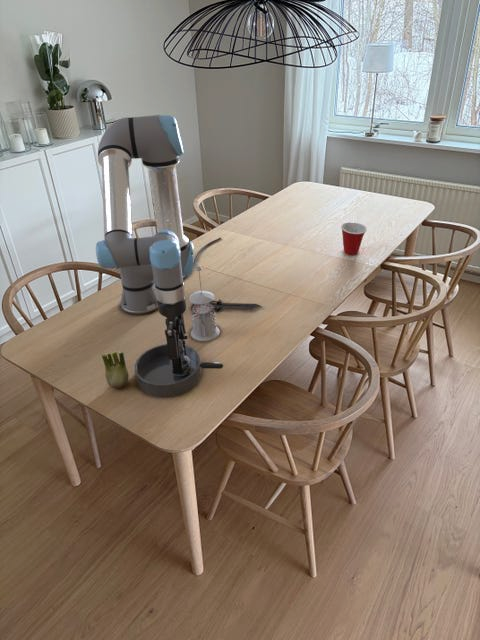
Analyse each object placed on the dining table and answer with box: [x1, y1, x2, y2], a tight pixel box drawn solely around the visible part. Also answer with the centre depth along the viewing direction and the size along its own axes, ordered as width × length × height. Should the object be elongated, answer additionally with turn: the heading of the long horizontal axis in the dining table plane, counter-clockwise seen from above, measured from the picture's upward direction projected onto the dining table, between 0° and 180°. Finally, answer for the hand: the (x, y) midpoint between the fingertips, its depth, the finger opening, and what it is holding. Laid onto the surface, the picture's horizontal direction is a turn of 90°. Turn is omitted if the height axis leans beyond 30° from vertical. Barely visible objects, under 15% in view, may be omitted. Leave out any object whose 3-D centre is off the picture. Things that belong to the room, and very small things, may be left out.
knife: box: [191, 299, 263, 313], centre depth 170 cm, size 25×6×1 cm, turn 78°
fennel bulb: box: [101, 350, 129, 389], centre depth 134 cm, size 6×5×12 cm
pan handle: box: [200, 361, 224, 370], centre depth 138 cm, size 7×2×2 cm, turn 86°
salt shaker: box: [170, 339, 190, 376], centre depth 136 cm, size 6×6×12 cm
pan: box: [134, 343, 203, 398], centre depth 140 cm, size 19×19×4 cm
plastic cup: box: [340, 221, 368, 256], centre depth 200 cm, size 11×11×12 cm
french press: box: [188, 265, 220, 342], centre depth 151 cm, size 10×12×25 cm
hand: (180, 365), depth 138 cm, fingers closed on salt shaker, 6 cm apart
